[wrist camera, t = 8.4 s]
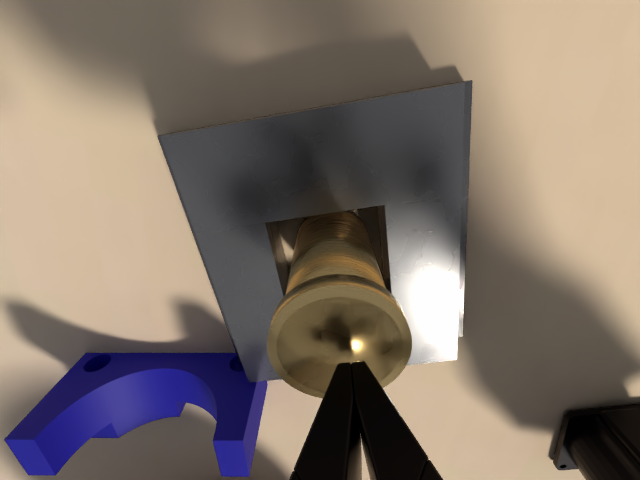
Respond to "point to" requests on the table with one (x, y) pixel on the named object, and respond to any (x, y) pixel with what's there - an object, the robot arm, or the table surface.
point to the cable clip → (141, 406)
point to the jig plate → (334, 206)
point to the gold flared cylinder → (336, 309)
